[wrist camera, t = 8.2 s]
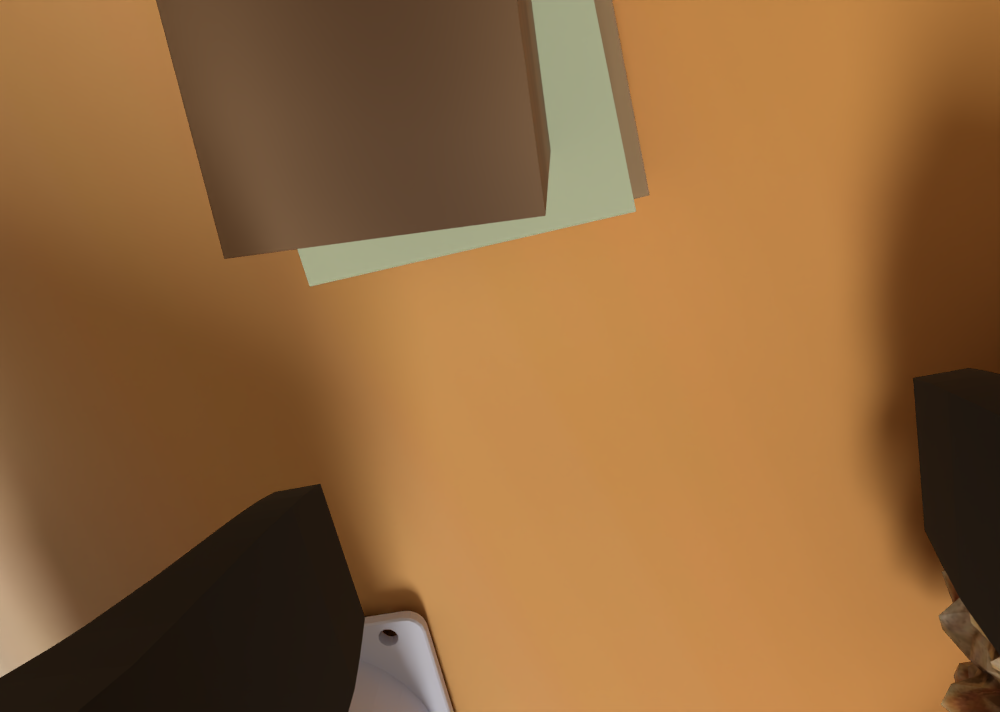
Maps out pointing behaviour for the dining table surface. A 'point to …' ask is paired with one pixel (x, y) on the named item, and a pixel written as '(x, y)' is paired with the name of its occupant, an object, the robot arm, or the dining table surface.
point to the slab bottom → (621, 97)
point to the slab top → (573, 160)
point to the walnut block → (360, 116)
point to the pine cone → (987, 677)
